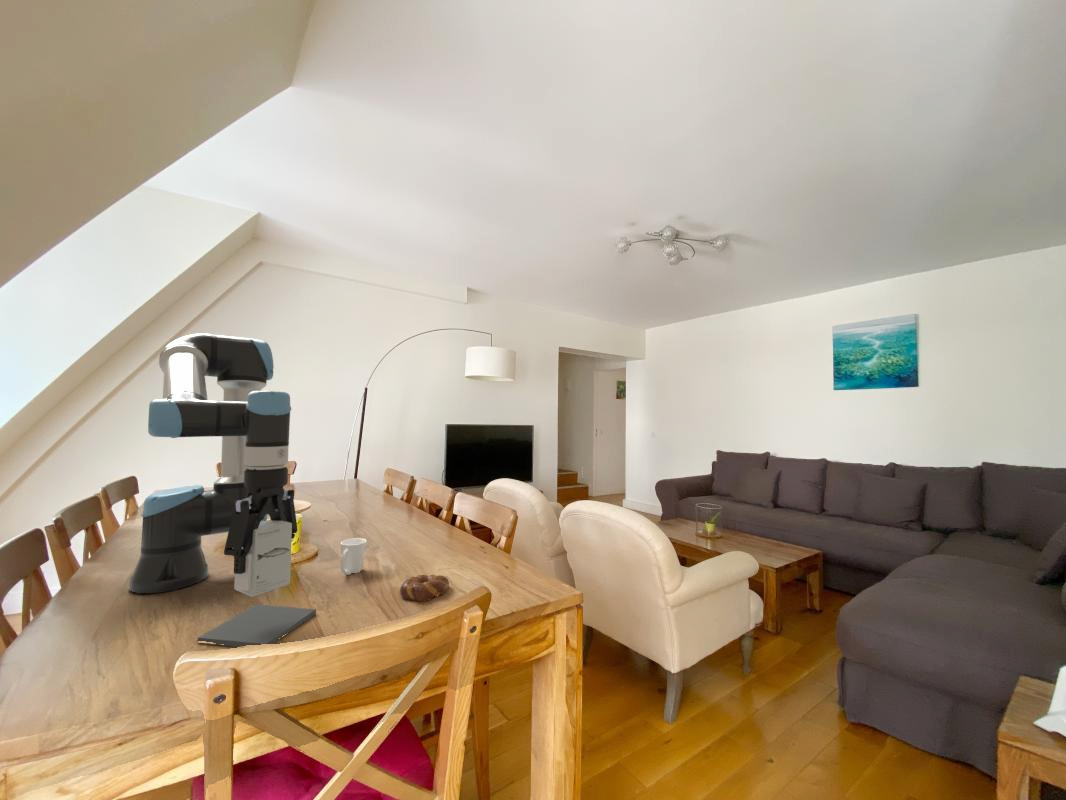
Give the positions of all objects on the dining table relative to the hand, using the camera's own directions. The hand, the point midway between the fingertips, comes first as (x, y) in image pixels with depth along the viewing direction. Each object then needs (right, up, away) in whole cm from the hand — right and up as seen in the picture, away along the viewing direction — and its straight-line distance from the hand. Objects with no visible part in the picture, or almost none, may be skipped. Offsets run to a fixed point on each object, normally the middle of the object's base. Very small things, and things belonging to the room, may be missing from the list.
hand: (262, 579), depth 84 cm
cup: (+5, -11, +29) cm, 32 cm away
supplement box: (0, -2, 0) cm, 2 cm away
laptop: (0, -9, 0) cm, 9 cm away
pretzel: (+28, -11, +18) cm, 35 cm away
